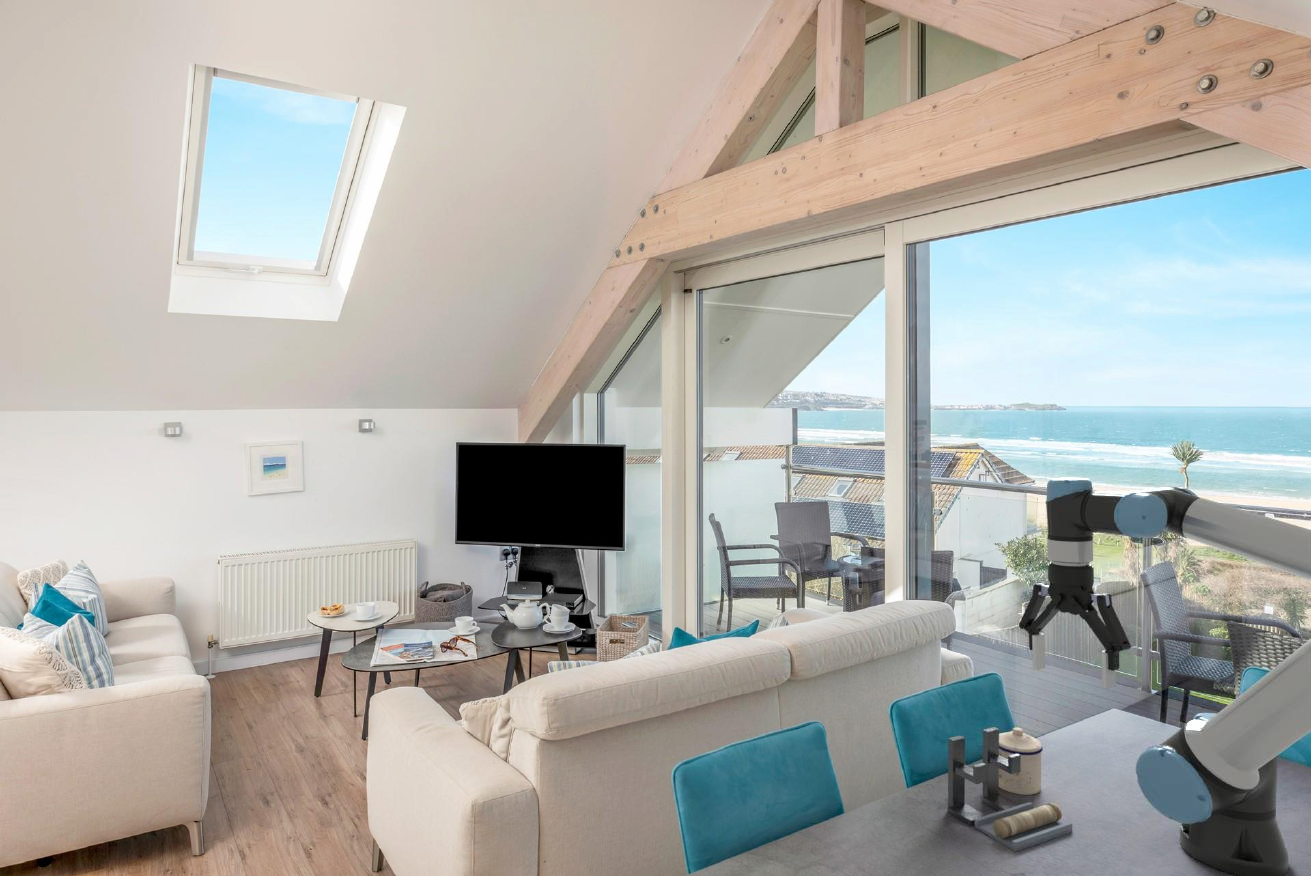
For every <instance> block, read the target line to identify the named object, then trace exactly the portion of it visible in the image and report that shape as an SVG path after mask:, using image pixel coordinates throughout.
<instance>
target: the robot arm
mask: <svg viewBox="0 0 1311 876" xmlns="http://www.w3.org/2000/svg"><path fill="white" fill-rule="evenodd" d="M1045 504H1046V505H1045V506H1046V509H1045V510H1046V521H1047V522H1046V523H1047V524H1046V525H1047V538H1046V539H1047V540H1046V543H1047V544H1046V547H1047V548H1046V550H1047V551H1046V553H1047V554H1046V555H1047V557H1046V558H1047V559H1048V560H1049V562H1048V563H1047V580H1048V582H1049V585H1047V583H1046V582H1040V583H1035V584H1033V586H1032V588H1033V589H1032V595H1031V597H1030V600H1029V601H1028V603H1027V606H1026V608H1025V610H1024V613H1023V614H1022V617H1021V619H1020V621H1019V623H1018V628H1020V629H1021V630H1025V631H1026V632H1027V633H1028V648H1029V650H1030V651H1032V670H1034V671H1038V670H1043V669H1046V635H1045V633H1043V630H1044V628H1045V627H1046V626H1047V625H1048V624H1049V623H1050V622H1051V620H1052V619H1054V617H1055V616H1056V615H1057V614H1058V613H1059V612H1060V613H1063V614H1064V613H1066V614H1067V613H1068V614H1070V615H1074V616H1078V615H1079V617H1080V618H1081V619H1082V620H1084V621H1085V622H1086V624H1087V625H1088V627H1089V628H1090V629H1091V631H1092V632H1093V634H1094V635H1095V637H1096V638H1097V640H1098V641H1099V643H1100V644H1101V645H1102V646H1103V648H1104V649H1105V650H1102V651H1101V688H1102V689H1104V690H1109V689H1112V688H1116V671H1119V669H1120V652H1123V651H1127V650H1130V649H1131V647H1132V646H1131V643H1130V640H1129V639H1128V636H1127V635H1126V632H1125V629H1124V628H1123V626H1122V624H1121V621H1120V619H1119V617H1118V615H1117V613H1116V610H1115V608H1114V606H1113V598H1112V596H1111V594H1110V593H1108V592H1106V593H1095V592H1094V589H1093V587H1094V582H1095V573H1094V571H1095V567H1094V566H1093V564H1092V562H1094V534H1096V533H1097V534H1098V533H1099V534H1106V535H1113V536H1114V535H1115V536H1123V537H1129V538H1132V539H1133V538H1134V539H1138V538H1147V539H1148V538H1149V539H1153V538H1157V537H1159V536H1160V535H1161V533H1163V532H1166V533H1167V532H1168V533H1170V534H1173V535H1175V536H1179V537H1182V538H1184V539H1185V538H1186V539H1187V540H1188V539H1189V540H1192V541H1194V542H1196V543H1197V542H1198V543H1200V544H1203V545H1205V546H1209V547H1211V548H1215V549H1218V550H1221V551H1223V552H1226V553H1230V554H1231V555H1232V554H1233V555H1235V556H1238V557H1241V558H1244V559H1246V560H1249V561H1253V562H1256V563H1258V564H1262V565H1264V566H1268V567H1270V568H1274V569H1276V570H1279V571H1282V572H1285V573H1287V574H1291V575H1294V576H1296V577H1299V578H1303V579H1305V580H1308V581H1311V529H1309V528H1305V527H1302V526H1298V525H1296V524H1292V523H1289V522H1285V521H1281V520H1279V519H1275V518H1271V517H1269V516H1265V515H1261V514H1258V513H1254V512H1251V511H1248V510H1243V509H1241V508H1237V507H1234V506H1231V505H1227V504H1223V503H1221V502H1217V501H1213V500H1211V499H1207V498H1202V497H1200V496H1198V495H1197V494H1196V493H1194V492H1193V491H1192V490H1190V489H1189V488H1185V487H1182V486H1181V487H1180V486H1179V487H1178V486H1172V485H1171V486H1163V487H1159V488H1158V487H1156V488H1149V489H1140V490H1130V491H1129V490H1128V491H1108V490H1107V491H1106V490H1105V491H1102V490H1095V489H1094V487H1093V483H1092V481H1091V480H1090V479H1089V478H1083V477H1059V478H1058V477H1056V478H1051V479H1050V480H1048V482H1047V484H1046V500H1045ZM1047 596H1049V597H1050V600H1051V601H1049V602H1048V603H1047V605H1045V609H1044V610H1043V611H1041V608H1042V606H1043V604H1044V602H1045V600H1046V598H1047ZM1093 603H1094V605H1095V606H1096V607H1097V609H1098V611H1097V609H1096V607H1095V606H1094V605H1093ZM1040 611H1041V613H1040ZM1098 612H1099V613H1098ZM1039 613H1040V614H1039ZM1098 614H1100V616H1101V618H1102V619H1101V618H1100V616H1099V615H1098ZM1309 733H1311V638H1309V639H1308V640H1307V641H1306V642H1305V643H1303V644H1302V645H1301V646H1300V647H1298V648H1297V649H1296V650H1295V651H1293V652H1292V653H1291V654H1290V655H1288V656H1287V657H1286V658H1285V659H1283V660H1282V661H1281V662H1279V664H1277V665H1276V666H1275V667H1274V668H1272V669H1271V670H1270V671H1268V672H1267V673H1266V674H1265V675H1264V676H1262V677H1261V678H1260V679H1258V680H1257V681H1256V682H1255V683H1254V684H1253V685H1251V686H1250V687H1249V688H1248V689H1246V690H1245V691H1244V692H1242V693H1241V694H1239V696H1238V697H1237V698H1235V699H1234V700H1233V701H1231V702H1230V703H1229V704H1227V705H1226V706H1225V707H1224V708H1223V709H1222V710H1220V711H1219V712H1218V713H1215V712H1214V713H1213V712H1200V713H1197V714H1195V715H1194V716H1193V720H1190V721H1188V722H1187V723H1186V724H1185V725H1183V726H1182V727H1180V728H1179V729H1178V730H1177V731H1176V732H1174V733H1173V734H1172V735H1171V736H1170V737H1169V738H1167V739H1166V740H1165V741H1163V742H1162V743H1160V744H1158V745H1152V746H1150V747H1147V748H1146V749H1145V750H1144V751H1142V753H1141V754H1139V756H1138V758H1137V759H1136V763H1135V773H1136V777H1137V781H1136V782H1137V784H1138V786H1139V789H1140V791H1141V793H1142V794H1143V797H1144V798H1146V800H1147V801H1148V803H1149V804H1150V805H1151V806H1152V807H1153V808H1154V809H1155V810H1156V811H1157V812H1158V813H1159V814H1160V815H1163V816H1164V817H1165V818H1167V819H1169V820H1173V821H1174V822H1176V823H1179V824H1180V823H1181V824H1180V827H1179V844H1180V847H1182V849H1183V850H1184V851H1185V852H1186V853H1187V854H1188V855H1190V856H1191V857H1193V858H1194V859H1195V860H1198V861H1199V862H1201V863H1203V864H1205V865H1207V866H1210V867H1211V868H1215V869H1217V870H1219V871H1222V872H1226V873H1229V874H1232V875H1236V876H1284V875H1286V874H1287V872H1288V871H1289V852H1288V849H1287V847H1286V844H1285V841H1284V838H1283V835H1282V832H1281V830H1280V827H1279V824H1278V821H1277V790H1278V789H1277V786H1278V759H1279V757H1278V755H1281V753H1283V752H1285V751H1286V750H1287V749H1288V748H1290V747H1291V746H1292V745H1294V744H1295V743H1297V742H1298V741H1299V740H1301V739H1302V738H1304V737H1305V736H1306V735H1308V734H1309Z"/></svg>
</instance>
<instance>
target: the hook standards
mask: <svg viewBox="0 0 1311 876" xmlns="http://www.w3.org/2000/svg"><path fill="white" fill-rule="evenodd" d="M999 734H1000V729H999V728H997V727H995V726H993V727H988V728H984V729H982V762H981V763H977V764H973V765H972V767H971V766H968V765H967V764H966V760H965V759H966V737H964V736H962V735H956V736H953V737H949V738H948V740H947V741H948V743H947V745H948V747H947V749H948V751H947V752H948V753H947V757H948V760H947V762H948V763H947V776H948V777H947V813H948V814H949V815H951V816H954V818H957V819H958V820H960V821H962V822H963V823H965V824H966V825H968V826H970V827H972V826H975V819H977V818H980V817H983V816H986V815H987V814H985V813H983V812H981V811H979V810H977V809H975V808H974V807H972V806H970V805H969V804H966V802H965V800H966V798H965V794H966V792H965V791H966V789H965V788H966V787H965V786H966V785H965V784H966V780H967V781H969V782H971V783H973V784H975V785H979V784H982V797H981V799H982V803H983V804H985V805H986V806H989V807H990V808H992V809H995V810H997V812H999V811H1002V810H1006V809H1009V808H1012V807H1015V806H1018V805H1021V804H1020V803H1018V802H1016V801H1015V800H1012V799H1010V798H1008V797H1006V796H1005V795H1003V794H1001V793H999V791H1000V790H999V789H1000V787H999V768H1000V769H1002V770H1004V771H1006V772H1008V773H1010V774H1014V773H1018V772H1021V755H1019V754H1013V755H1010V756H1008V759H1006V758H1004V757H1001V756H999Z"/></svg>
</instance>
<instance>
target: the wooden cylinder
mask: <svg viewBox="0 0 1311 876" xmlns="http://www.w3.org/2000/svg"><path fill="white" fill-rule="evenodd" d="M1033 808H1034V809H1031V810H1028V811H1024V812H1021V813H1018V814H1015V815H1012V816H1008V817H1005V818H1000V819H997V820H996V821H994V822H993V830H994V832H995V834H996V835H997V836H998V837H999V838H1001V839H1004V838H1007V837H1010V836H1013V835H1016V834H1019V833H1022V832H1025V831H1028V830H1031V829H1034V828H1037V827H1040V826H1044V825H1047V824H1050V823H1053V822H1056V821H1059V822H1060V820H1061V819H1062V817H1063V814H1062V810H1061V809H1060V807H1059V806H1058V805H1057V804H1056V803H1054V802H1049V803H1046V804H1043V805H1041V806H1037V807H1033Z"/></svg>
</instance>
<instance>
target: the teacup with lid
mask: <svg viewBox="0 0 1311 876" xmlns="http://www.w3.org/2000/svg"><path fill="white" fill-rule="evenodd" d="M1042 751H1043V744H1042V743H1041V742H1040V740H1038V739H1037V738H1035V737H1033V736H1031V735H1029V734H1026V733H1025V732H1024V730H1023V729H1022V728H1021V727H1013V728H1012V730H1010V731H1008V732H1007V731H1006V732H1002V733H1001V732H1000V733H999V756H1001V757H1004V758H1006V759H1008V756H1010V755H1013V754H1019V755H1021V772H1018V773H1014V774H1010V773H1008V772H1006V771H1004V770H1002V769H1000V768H999V789H1001V790H1003V791H1006V792H1008V793H1010V794H1015V795H1021V796H1028V795H1029V796H1030V795H1035V794H1038V793H1039V792H1040V791H1041V790H1042Z"/></svg>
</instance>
